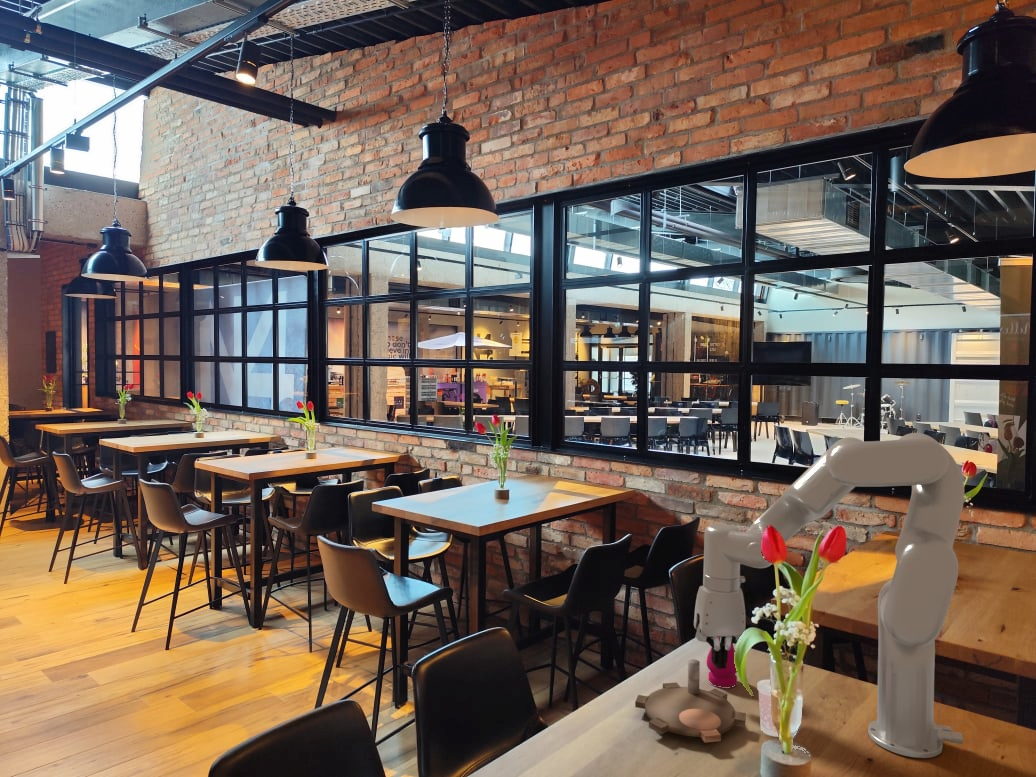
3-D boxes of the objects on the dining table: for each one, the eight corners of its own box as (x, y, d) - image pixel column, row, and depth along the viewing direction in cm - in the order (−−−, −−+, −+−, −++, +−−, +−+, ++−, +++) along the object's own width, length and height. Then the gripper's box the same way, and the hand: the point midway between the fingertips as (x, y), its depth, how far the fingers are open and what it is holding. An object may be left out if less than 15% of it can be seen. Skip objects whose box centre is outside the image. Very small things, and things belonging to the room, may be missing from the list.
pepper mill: (732, 692, 152) (733, 604, 152) (701, 683, 157) (702, 597, 156) (743, 681, 158) (744, 595, 158) (713, 672, 163) (713, 589, 162)
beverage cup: (767, 740, 133) (768, 669, 133) (750, 724, 139) (751, 656, 139) (795, 736, 134) (796, 666, 134) (777, 721, 140) (778, 653, 140)
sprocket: (747, 699, 146) (747, 663, 145) (742, 749, 127) (743, 708, 126) (645, 682, 154) (645, 648, 153) (626, 727, 134) (626, 688, 134)
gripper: (745, 575, 152) (743, 656, 152) (681, 578, 149) (679, 660, 150) (762, 586, 144) (760, 672, 145) (695, 589, 142) (693, 676, 143)
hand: (719, 665), depth 148 cm, fingers closed
